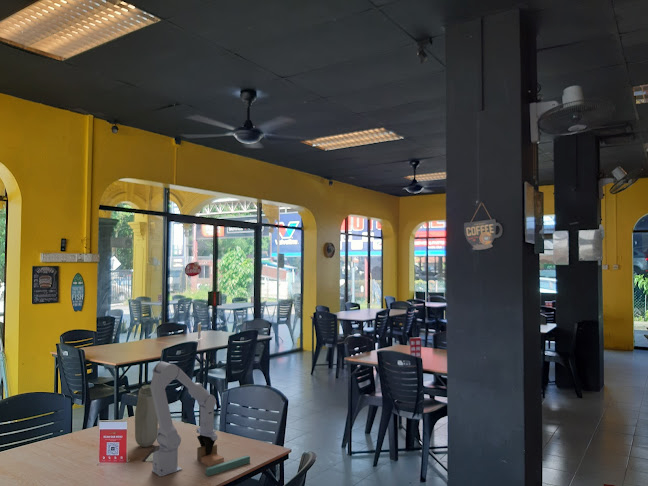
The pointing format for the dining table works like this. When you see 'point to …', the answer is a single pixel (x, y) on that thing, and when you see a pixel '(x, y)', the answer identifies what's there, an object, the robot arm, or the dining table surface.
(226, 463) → the rail
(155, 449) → the chocolate bar
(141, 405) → the olive grey vase
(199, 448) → the tall cardboard box
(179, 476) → the dining table surface
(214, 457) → the tile
